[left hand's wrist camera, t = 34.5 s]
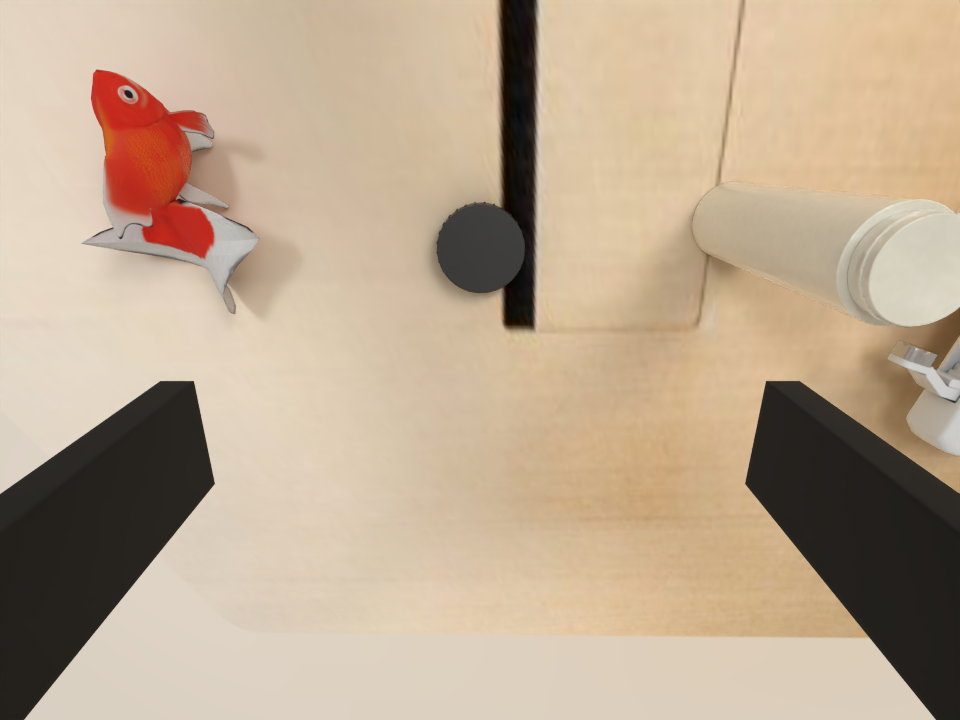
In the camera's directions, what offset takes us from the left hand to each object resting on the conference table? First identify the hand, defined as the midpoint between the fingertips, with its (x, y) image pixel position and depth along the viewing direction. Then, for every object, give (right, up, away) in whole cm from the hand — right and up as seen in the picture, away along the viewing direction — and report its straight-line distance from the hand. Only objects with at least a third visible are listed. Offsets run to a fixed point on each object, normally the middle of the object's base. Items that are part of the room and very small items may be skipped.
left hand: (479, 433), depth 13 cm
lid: (0, +10, +26) cm, 28 cm away
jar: (+18, +12, +27) cm, 35 cm away
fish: (-20, +13, +27) cm, 36 cm away
